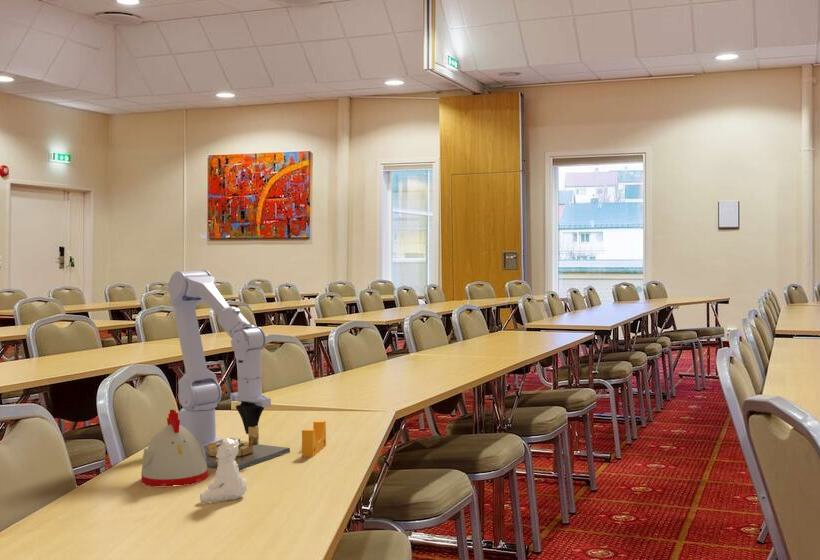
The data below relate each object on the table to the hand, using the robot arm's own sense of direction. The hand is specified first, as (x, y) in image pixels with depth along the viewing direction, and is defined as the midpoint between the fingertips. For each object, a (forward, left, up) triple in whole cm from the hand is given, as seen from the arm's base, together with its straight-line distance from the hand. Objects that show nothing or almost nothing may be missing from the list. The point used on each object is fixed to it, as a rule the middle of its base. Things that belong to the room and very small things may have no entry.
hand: (251, 433), depth 222 cm
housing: (-2, -6, -5) cm, 7 cm away
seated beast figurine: (+20, -34, -5) cm, 39 cm away
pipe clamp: (+12, +8, -5) cm, 15 cm away
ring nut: (-2, -6, -3) cm, 7 cm away
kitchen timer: (0, -27, -5) cm, 27 cm away
